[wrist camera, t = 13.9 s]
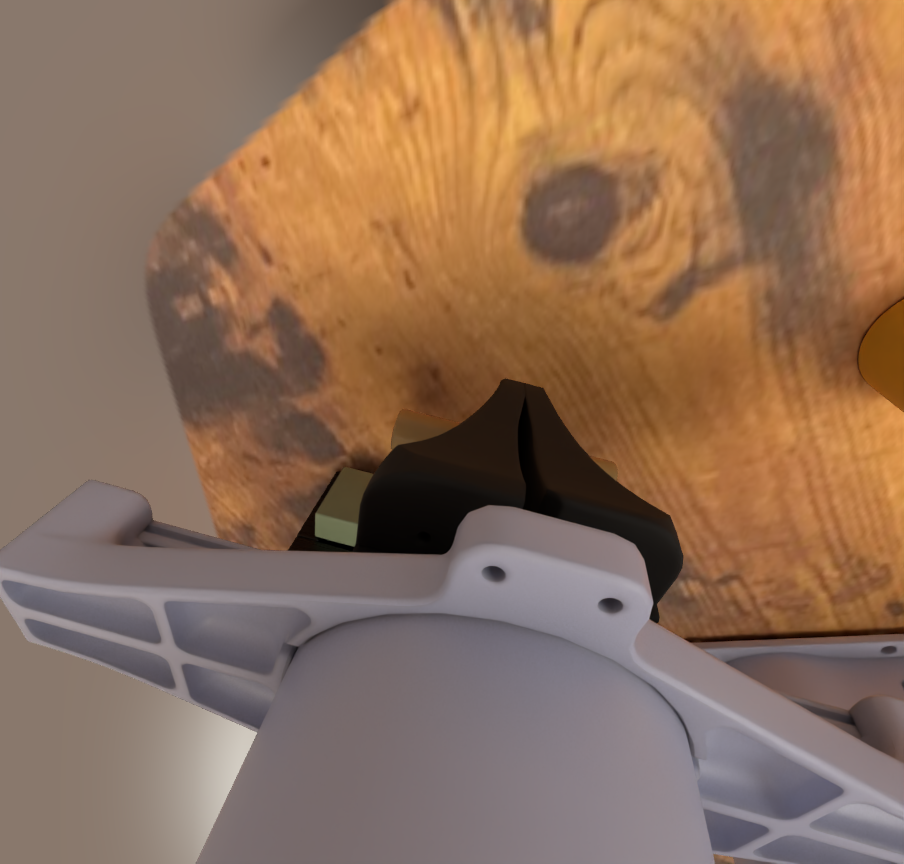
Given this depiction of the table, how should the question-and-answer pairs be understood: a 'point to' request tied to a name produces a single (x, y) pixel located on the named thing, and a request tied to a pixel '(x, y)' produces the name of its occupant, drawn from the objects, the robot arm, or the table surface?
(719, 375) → the table surface
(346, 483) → the drawer
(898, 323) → the pill bottle
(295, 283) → the table surface
